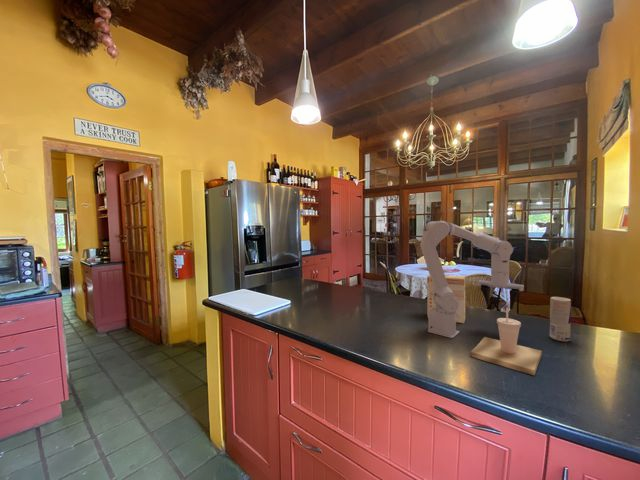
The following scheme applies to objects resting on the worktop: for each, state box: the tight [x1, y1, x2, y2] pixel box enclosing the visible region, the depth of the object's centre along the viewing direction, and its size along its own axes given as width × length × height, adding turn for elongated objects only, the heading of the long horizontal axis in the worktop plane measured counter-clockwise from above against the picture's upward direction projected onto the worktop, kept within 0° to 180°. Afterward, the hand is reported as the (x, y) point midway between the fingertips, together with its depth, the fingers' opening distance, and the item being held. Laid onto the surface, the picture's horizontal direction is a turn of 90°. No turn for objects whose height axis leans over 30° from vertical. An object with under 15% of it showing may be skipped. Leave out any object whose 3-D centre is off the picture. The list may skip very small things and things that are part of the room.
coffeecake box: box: [426, 274, 466, 324], centre depth 120 cm, size 15×7×20 cm, turn 58°
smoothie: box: [496, 307, 522, 353], centre depth 85 cm, size 6×6×14 cm
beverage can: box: [549, 296, 572, 342], centre depth 97 cm, size 6×6×15 cm
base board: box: [470, 336, 543, 376], centre depth 85 cm, size 16×16×2 cm
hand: (499, 306), depth 103 cm, fingers open, 7 cm apart
